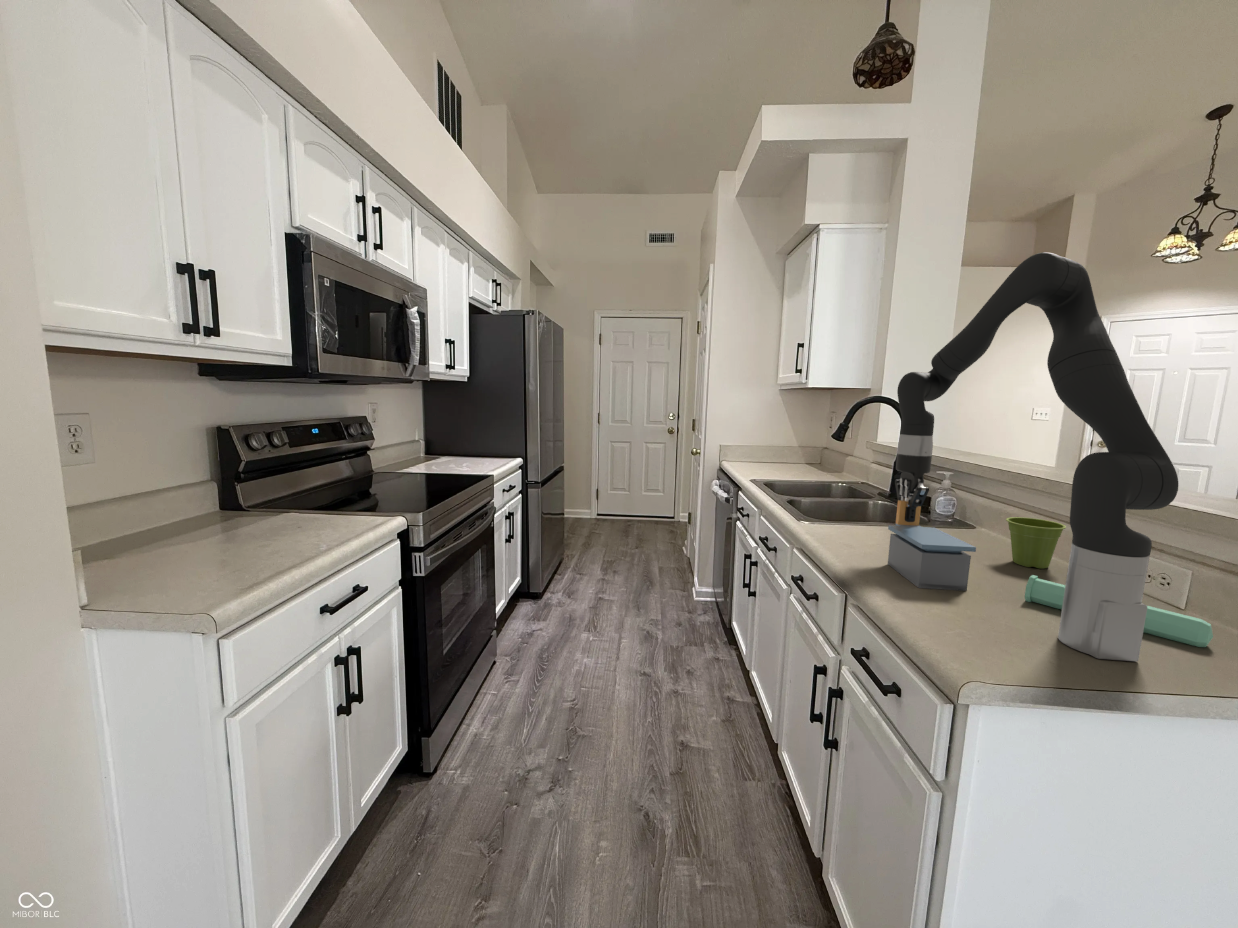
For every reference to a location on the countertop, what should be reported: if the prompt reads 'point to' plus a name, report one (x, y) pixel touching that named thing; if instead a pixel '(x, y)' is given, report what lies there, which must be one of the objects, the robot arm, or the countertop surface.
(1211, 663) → the countertop surface
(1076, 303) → the robot arm
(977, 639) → the countertop surface
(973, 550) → the lid
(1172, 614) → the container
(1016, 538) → the plant pot
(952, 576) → the storage box
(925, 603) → the countertop surface
